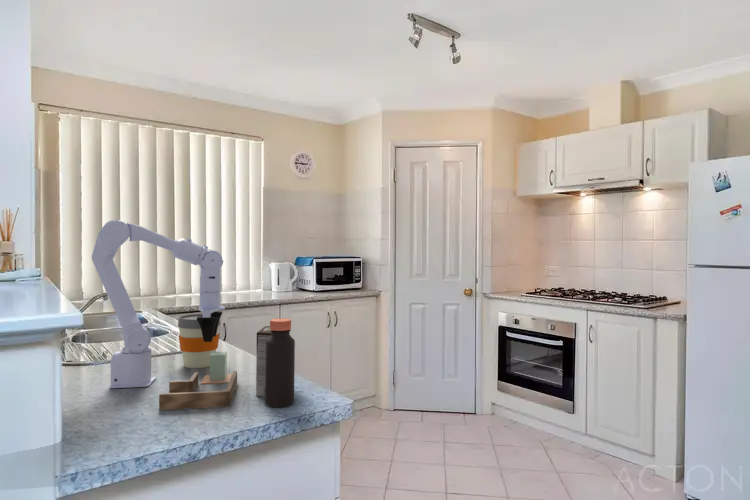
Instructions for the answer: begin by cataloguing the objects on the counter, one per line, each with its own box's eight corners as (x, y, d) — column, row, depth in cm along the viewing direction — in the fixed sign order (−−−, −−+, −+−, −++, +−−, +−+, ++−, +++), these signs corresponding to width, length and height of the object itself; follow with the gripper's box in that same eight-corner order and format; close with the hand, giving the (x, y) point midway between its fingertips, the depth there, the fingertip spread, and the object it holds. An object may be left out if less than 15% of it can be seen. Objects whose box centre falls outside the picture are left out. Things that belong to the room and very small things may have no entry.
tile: (200, 384, 131) (200, 383, 131) (205, 376, 139) (205, 375, 139) (231, 382, 132) (231, 381, 132) (234, 374, 140) (234, 373, 140)
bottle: (259, 406, 114) (260, 321, 114) (275, 397, 120) (276, 317, 120) (284, 409, 112) (285, 323, 111) (299, 400, 118) (300, 318, 118)
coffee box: (264, 385, 130) (264, 325, 130) (288, 386, 130) (288, 326, 130) (254, 396, 121) (255, 332, 121) (280, 397, 121) (281, 332, 121)
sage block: (209, 380, 133) (209, 355, 133) (211, 376, 137) (212, 351, 137) (224, 380, 134) (224, 354, 134) (226, 376, 138) (226, 351, 138)
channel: (159, 410, 110) (159, 394, 110) (176, 386, 129) (176, 373, 129) (229, 406, 113) (229, 391, 113) (237, 383, 132) (237, 370, 132)
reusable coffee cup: (220, 358, 160) (220, 312, 159) (220, 368, 148) (220, 318, 147) (178, 360, 156) (179, 314, 155) (176, 371, 144) (176, 320, 143)
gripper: (221, 294, 133) (221, 343, 133) (227, 289, 147) (227, 333, 147) (194, 294, 132) (194, 344, 132) (203, 289, 146) (202, 334, 146)
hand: (209, 338), depth 140 cm, fingers open, 7 cm apart
